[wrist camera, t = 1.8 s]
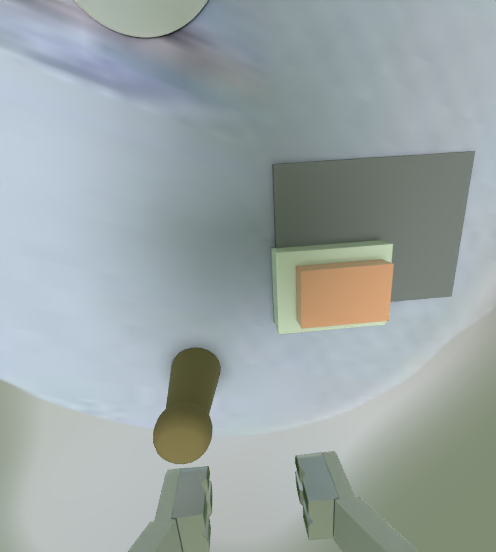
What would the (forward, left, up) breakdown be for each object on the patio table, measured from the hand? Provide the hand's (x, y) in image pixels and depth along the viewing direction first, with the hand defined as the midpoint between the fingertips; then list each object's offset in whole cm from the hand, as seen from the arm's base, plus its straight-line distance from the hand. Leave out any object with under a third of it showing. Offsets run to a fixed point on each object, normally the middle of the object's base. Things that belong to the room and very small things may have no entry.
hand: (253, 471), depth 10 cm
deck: (0, +10, -21) cm, 23 cm away
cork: (+10, -6, -21) cm, 24 cm away
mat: (-5, +15, -21) cm, 26 cm away
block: (0, +11, -18) cm, 21 cm away
